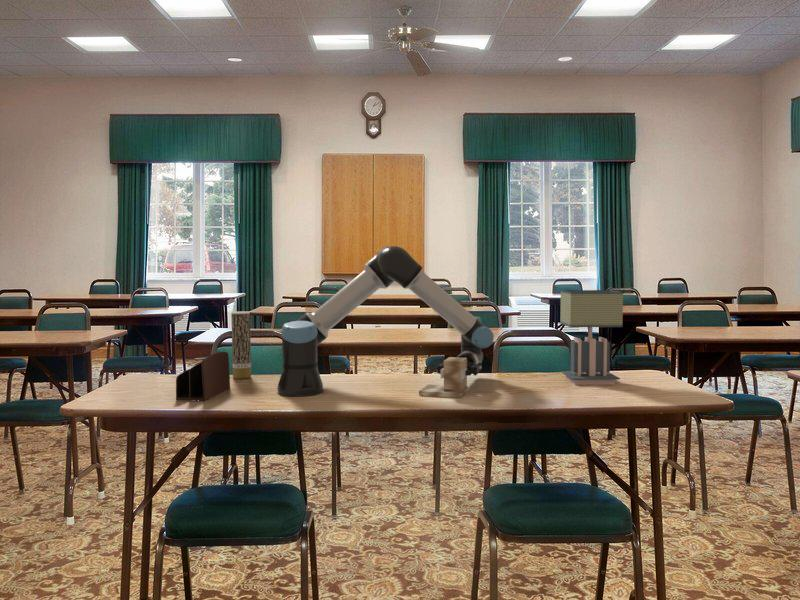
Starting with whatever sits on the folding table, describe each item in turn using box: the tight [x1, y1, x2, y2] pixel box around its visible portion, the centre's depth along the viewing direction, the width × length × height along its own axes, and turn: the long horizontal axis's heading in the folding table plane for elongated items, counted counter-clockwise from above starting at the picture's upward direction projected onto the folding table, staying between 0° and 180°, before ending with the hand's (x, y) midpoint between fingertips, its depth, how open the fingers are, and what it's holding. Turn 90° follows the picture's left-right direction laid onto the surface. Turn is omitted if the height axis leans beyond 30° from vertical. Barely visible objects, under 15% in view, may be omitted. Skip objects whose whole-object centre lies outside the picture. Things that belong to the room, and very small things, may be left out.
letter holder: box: [175, 351, 231, 402], centre depth 207 cm, size 10×20×14 cm, turn 172°
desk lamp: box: [559, 289, 624, 386], centre depth 224 cm, size 18×14×33 cm
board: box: [418, 384, 469, 399], centre depth 206 cm, size 14×11×2 cm
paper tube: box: [230, 310, 252, 380], centre depth 235 cm, size 7×7×25 cm
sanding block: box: [443, 356, 468, 392], centre depth 205 cm, size 6×8×10 cm
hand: (451, 374), depth 200 cm, fingers closed on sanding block, 6 cm apart
